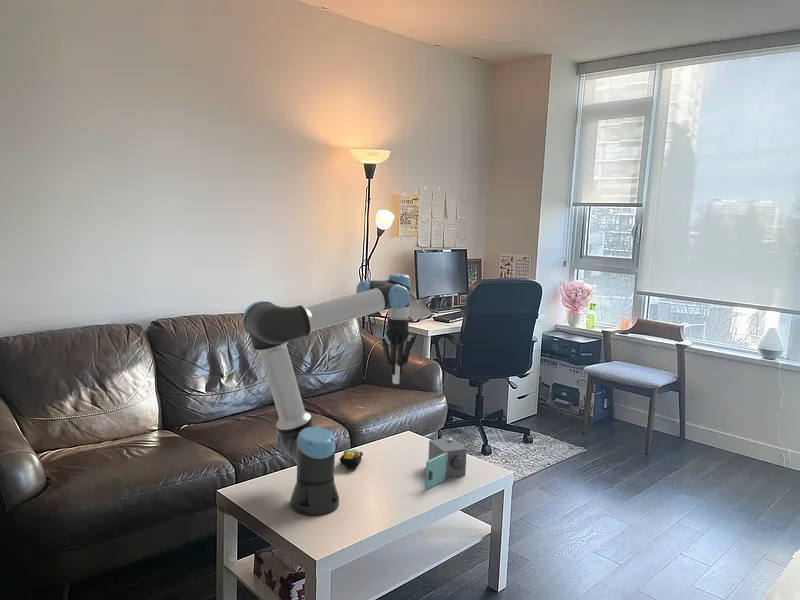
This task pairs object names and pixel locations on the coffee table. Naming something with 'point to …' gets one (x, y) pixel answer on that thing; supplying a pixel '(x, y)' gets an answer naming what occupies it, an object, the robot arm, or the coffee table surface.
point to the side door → (436, 470)
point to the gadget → (351, 458)
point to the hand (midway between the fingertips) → (395, 383)
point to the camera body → (450, 455)
